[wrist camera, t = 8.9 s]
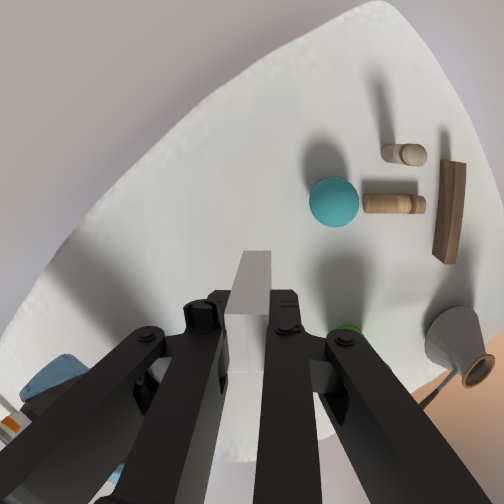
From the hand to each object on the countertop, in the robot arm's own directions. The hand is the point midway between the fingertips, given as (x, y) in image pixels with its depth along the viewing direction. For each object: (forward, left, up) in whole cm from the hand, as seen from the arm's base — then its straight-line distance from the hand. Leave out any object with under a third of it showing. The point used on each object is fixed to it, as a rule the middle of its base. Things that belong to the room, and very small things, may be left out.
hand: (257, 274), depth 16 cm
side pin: (+16, +7, -22) cm, 28 cm away
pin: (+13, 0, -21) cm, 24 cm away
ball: (+8, +1, -19) cm, 21 cm away
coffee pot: (+27, -23, -22) cm, 42 cm away
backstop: (+26, 0, -22) cm, 34 cm away
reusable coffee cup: (-96, -76, -22) cm, 124 cm away
